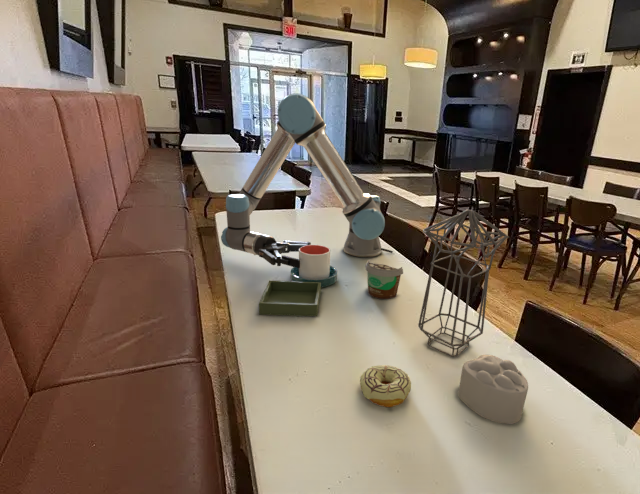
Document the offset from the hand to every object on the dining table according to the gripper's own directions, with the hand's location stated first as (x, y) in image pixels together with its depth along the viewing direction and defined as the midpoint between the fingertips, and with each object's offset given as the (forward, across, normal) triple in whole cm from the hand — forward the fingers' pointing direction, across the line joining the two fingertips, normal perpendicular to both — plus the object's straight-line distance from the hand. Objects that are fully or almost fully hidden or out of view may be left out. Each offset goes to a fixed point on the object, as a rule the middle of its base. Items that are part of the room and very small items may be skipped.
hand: (311, 258), depth 135 cm
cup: (+1, 0, -7) cm, 7 cm away
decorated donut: (+47, +40, -8) cm, 62 cm away
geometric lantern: (+52, +15, -8) cm, 55 cm away
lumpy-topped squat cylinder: (+67, +32, -8) cm, 75 cm away
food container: (+25, -1, -8) cm, 26 cm away
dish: (+1, 0, -7) cm, 7 cm away
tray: (+6, +18, -7) cm, 20 cm away
